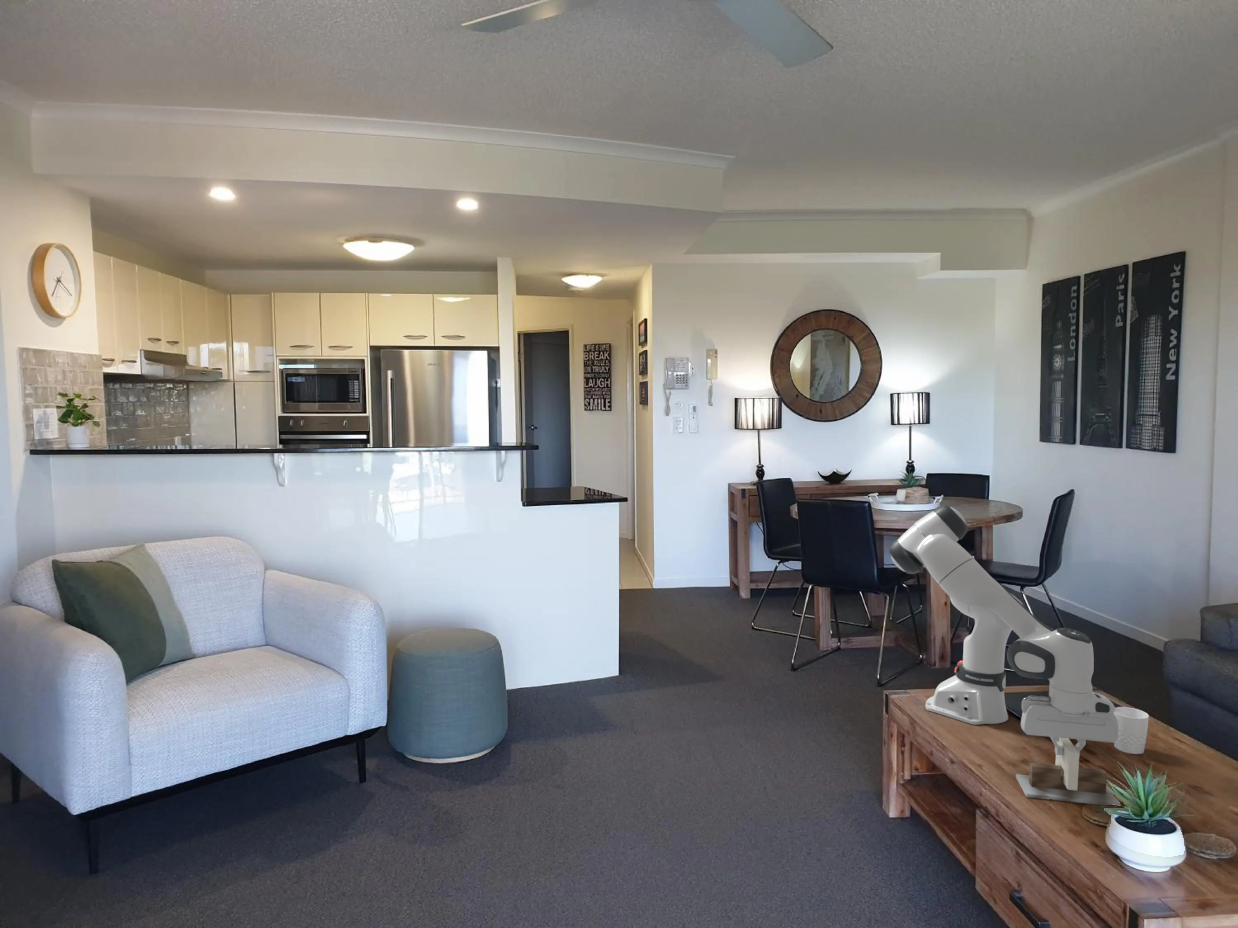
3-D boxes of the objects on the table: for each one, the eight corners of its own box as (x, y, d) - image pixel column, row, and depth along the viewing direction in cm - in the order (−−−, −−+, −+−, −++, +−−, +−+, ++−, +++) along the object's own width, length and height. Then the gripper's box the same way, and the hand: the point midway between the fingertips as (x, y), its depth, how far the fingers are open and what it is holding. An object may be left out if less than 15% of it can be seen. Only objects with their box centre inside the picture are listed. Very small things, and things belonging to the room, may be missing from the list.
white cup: (1152, 756, 208) (1154, 719, 207) (1118, 753, 209) (1120, 717, 208) (1139, 743, 215) (1141, 707, 215) (1106, 741, 217) (1108, 705, 216)
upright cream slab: (1077, 790, 184) (1079, 752, 184) (1067, 789, 185) (1069, 752, 184) (1064, 770, 194) (1065, 734, 193) (1055, 769, 195) (1056, 734, 194)
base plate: (1026, 796, 187) (1027, 773, 187) (1015, 776, 197) (1016, 754, 196) (1121, 806, 183) (1122, 782, 182) (1105, 785, 192) (1107, 762, 192)
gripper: (1025, 699, 187) (1022, 756, 188) (1122, 707, 182) (1119, 765, 184) (1018, 689, 193) (1016, 744, 195) (1112, 697, 188) (1109, 753, 190)
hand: (1067, 754), depth 189 cm, fingers closed on upright cream slab, 2 cm apart
